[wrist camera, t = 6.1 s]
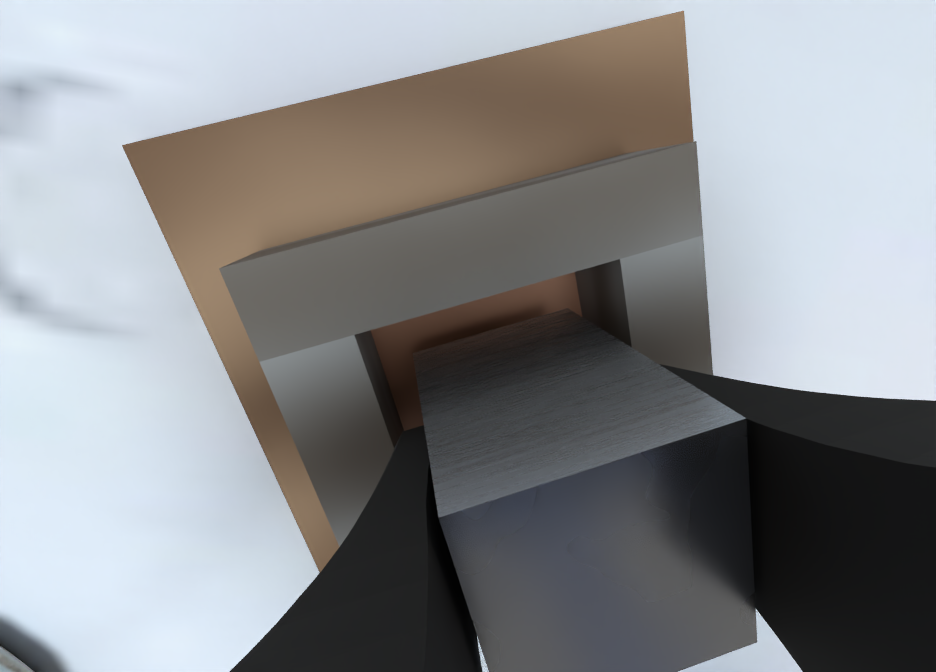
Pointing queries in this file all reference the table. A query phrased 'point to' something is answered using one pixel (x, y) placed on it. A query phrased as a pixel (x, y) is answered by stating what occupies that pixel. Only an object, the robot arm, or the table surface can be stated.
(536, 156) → the well board
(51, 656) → the table surface
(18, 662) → the salad plate
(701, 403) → the steel block
